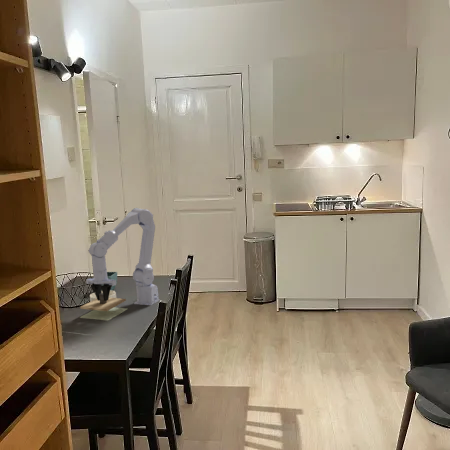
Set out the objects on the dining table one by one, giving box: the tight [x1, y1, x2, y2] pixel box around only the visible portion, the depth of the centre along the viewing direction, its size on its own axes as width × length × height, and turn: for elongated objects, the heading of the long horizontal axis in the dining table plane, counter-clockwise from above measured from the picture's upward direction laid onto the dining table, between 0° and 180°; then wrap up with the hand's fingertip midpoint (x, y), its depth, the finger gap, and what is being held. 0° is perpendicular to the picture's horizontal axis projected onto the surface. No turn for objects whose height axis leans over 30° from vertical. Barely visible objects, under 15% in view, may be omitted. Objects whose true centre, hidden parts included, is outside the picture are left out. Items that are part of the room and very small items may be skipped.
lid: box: [79, 293, 127, 311], centre depth 210 cm, size 14×14×5 cm
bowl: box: [89, 290, 117, 302], centre depth 226 cm, size 12×12×4 cm
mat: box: [79, 306, 128, 321], centre depth 211 cm, size 15×15×1 cm
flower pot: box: [101, 271, 118, 291], centre depth 245 cm, size 9×9×9 cm
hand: (103, 300), depth 210 cm, fingers closed on lid, 3 cm apart
